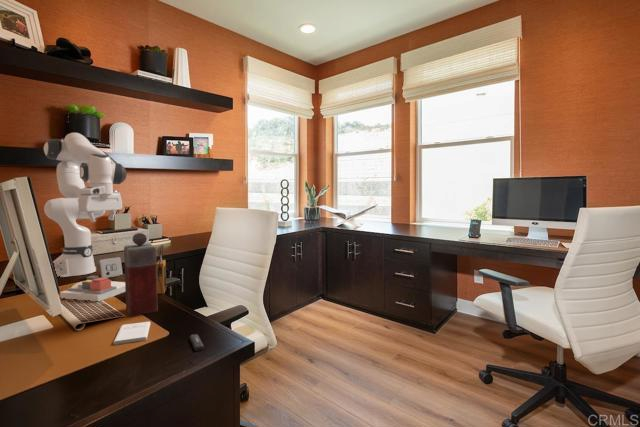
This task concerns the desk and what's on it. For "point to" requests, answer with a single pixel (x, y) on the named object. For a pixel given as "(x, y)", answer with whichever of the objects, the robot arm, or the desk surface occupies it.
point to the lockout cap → (100, 284)
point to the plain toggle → (91, 277)
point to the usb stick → (196, 342)
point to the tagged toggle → (86, 284)
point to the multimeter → (161, 274)
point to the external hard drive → (132, 333)
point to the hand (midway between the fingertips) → (102, 220)
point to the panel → (93, 292)
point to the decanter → (140, 276)
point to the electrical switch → (110, 267)
